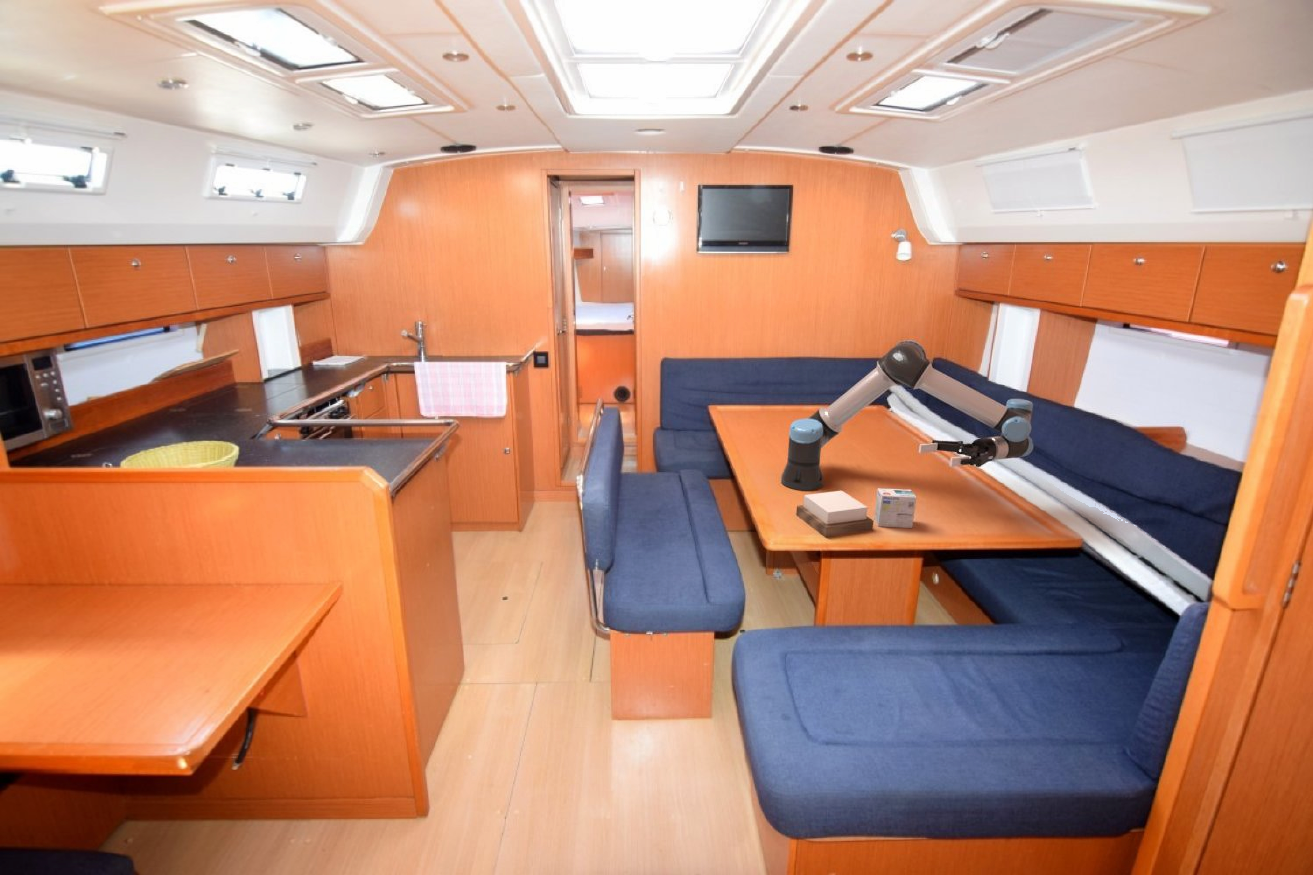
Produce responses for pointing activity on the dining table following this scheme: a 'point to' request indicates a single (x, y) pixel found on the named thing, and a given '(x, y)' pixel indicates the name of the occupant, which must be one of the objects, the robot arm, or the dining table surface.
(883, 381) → the robot arm
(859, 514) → the white slab
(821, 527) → the walnut slab
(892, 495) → the light bulb box
